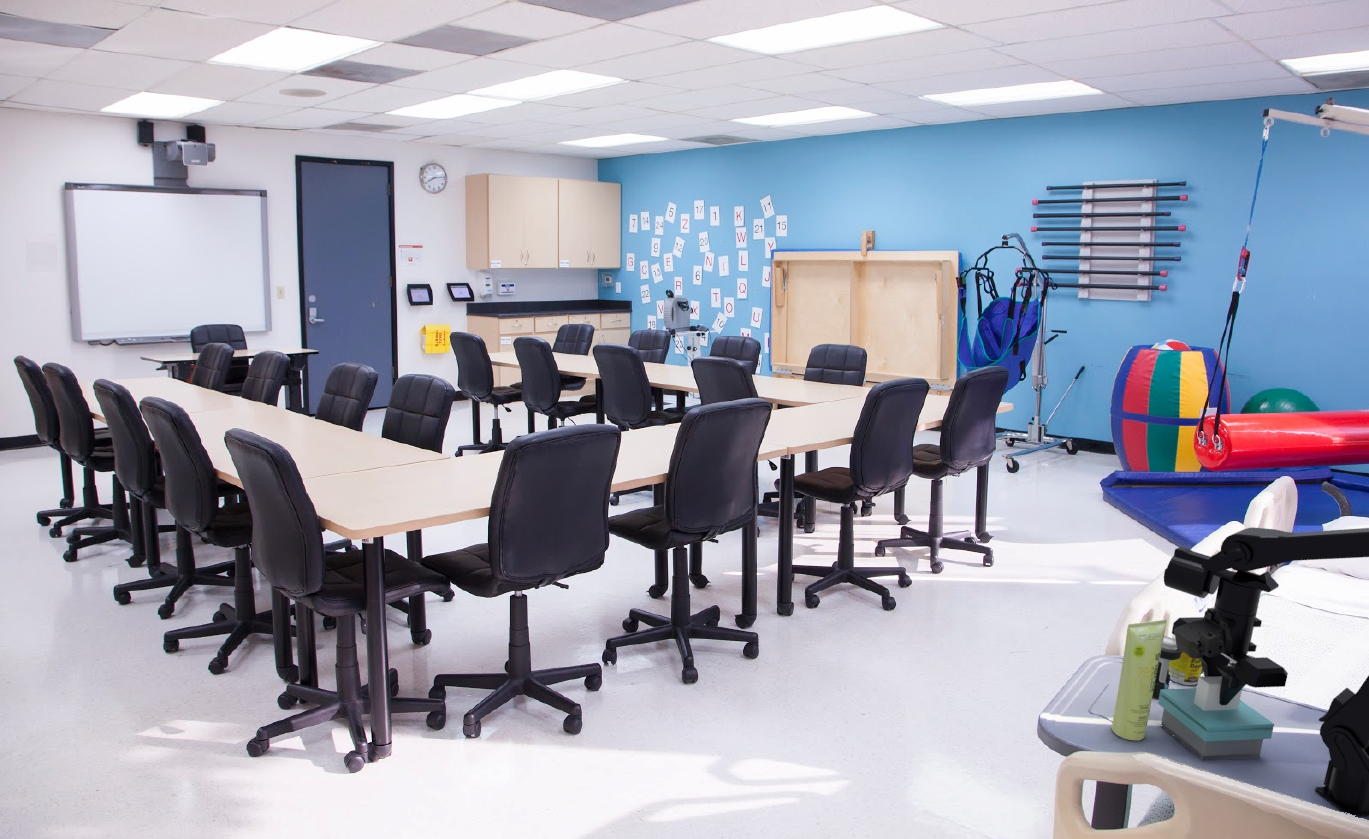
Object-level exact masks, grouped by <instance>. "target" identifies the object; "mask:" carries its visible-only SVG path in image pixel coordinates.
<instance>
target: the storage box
mask: <svg viewBox="0 0 1369 839" xmlns="http://www.w3.org/2000/svg"><path fill="white" fill-rule="evenodd" d="M1161 725H1162V727H1163V728H1162V727H1161V728H1162V729H1164V730H1165V729H1166V730H1167V731H1168V732H1169V733H1168V732H1167V731H1166V730H1165V731H1166V732H1167V733H1168V734H1170V735H1171V736H1172V735H1174V737H1175V738H1174V737H1173V738H1174V739H1175V740H1177V741H1178V742H1179V741H1180V742H1181V743H1180V742H1179V743H1180V744H1182V746H1183V747H1185V748H1186V749H1188V751H1190V752H1191V753H1192V754H1193V755H1195V756H1196V757H1197V758H1198V759H1200V760H1201V761H1205V762H1207V761H1221V760H1243V759H1245V760H1246V759H1260V756H1261V751H1262V747H1263V741H1264V739H1251V740H1229V741H1206V742H1205V741H1204V740H1203V739H1202V738H1200V737H1199V736H1198V735H1197V734H1195V733H1194V732H1193V731H1192V730H1190V729H1189V728H1188V727H1187V726H1185V725H1184V724H1183V723H1182V722H1180V721H1179V720H1178V719H1177V718H1176V717H1174V716H1173V715H1172V714H1171V713H1169V712H1168V711H1167V710H1166V709H1164V708H1163V713H1162V717H1161V721H1160V726H1161Z"/></svg>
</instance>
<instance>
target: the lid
mask: <svg viewBox="0 0 1369 839" xmlns="http://www.w3.org/2000/svg"><path fill="white" fill-rule="evenodd" d="M1221 682H1222V676H1216V677H1204V676H1200V677H1199V679H1198V683H1197V684H1196V687H1194V688H1193V687H1192V688H1168V689H1160V695H1159V699H1158V701H1157V704H1158V705H1159V706H1160V707H1162V708H1163V710H1164V709H1166V710H1167V711H1168V712H1169V713H1171V714H1172V715H1173V716H1174V717H1176V718H1177V719H1178V720H1179V721H1180V722H1182V723H1183V724H1184V725H1185V726H1187V727H1188V728H1189V729H1190V730H1192V731H1193V732H1194V733H1195V734H1197V735H1198V736H1199V737H1200V738H1202V739H1203V740H1204V741H1205V742H1206V741H1229V740H1251V739H1263V740H1268V739H1270V740H1271V739H1272V735H1273V731H1274V726H1275V723H1274V722H1273V721H1270V720H1269V718H1266V717H1265V716H1264V715H1262V714H1261V713H1260V712H1258V711H1257V710H1255V709H1254V708H1252V707H1251V706H1249V705H1248V704H1247V703H1245V702H1244V701H1243V700H1241V697H1242V691H1243V688H1242V689H1241V690H1240V691H1239V692H1238V693H1237V695H1236V696H1235V697H1234V698H1233V699H1232V700H1231V701H1230V702H1229V703H1228V704H1227V705H1220V703H1219V701H1220V689H1221Z"/></svg>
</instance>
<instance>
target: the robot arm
mask: <svg viewBox="0 0 1369 839" xmlns="http://www.w3.org/2000/svg"><path fill="white" fill-rule="evenodd" d="M1353 558H1354V559H1356V558H1369V527H1362V528H1361V527H1360V528H1345V529H1333V530H1319V531H1316V530H1315V531H1304V532H1303V531H1302V532H1291V531H1290V532H1289V531H1284V530H1278V529H1274V528H1264V527H1263V528H1262V527H1248V528H1247V527H1246V528H1243V529H1241V530H1239V531H1237V532H1234V533H1232V534H1229V535H1228V536H1226V538H1224V540H1223V541H1222V542H1221V546H1220V550H1219V551H1218V552H1217V553H1215V554H1213V555H1207V554H1203V553H1200V552H1197V551H1194V550H1191V549H1190V548H1187V547H1184V546H1180V547H1177V548H1175V549H1174V554H1173V556H1172V557H1171V558H1170V560H1169V561H1168V564H1167V566H1166V568H1165V569H1164V573H1163V583H1164V585H1165V587H1168V588H1170V589H1173V590H1176V591H1180V592H1182V593H1186V594H1188V595H1191V596H1194V597H1198V598H1200V599H1205V598H1206V597H1207V596H1208V595H1214V594H1215V593H1216V596H1215V601H1214V606H1213V607H1209V608H1208V607H1206V608H1207V609H1206V610H1205V611H1204V615H1203V616H1202V617H1201V616H1199V617H1198V616H1196V617H1195V616H1194V617H1191V616H1190V617H1178V618H1177V619H1176V620H1175V621H1174V622H1173V624H1172V630H1171V634H1172V635H1173V634H1174V635H1175V640H1176V646H1177V648H1178V649H1179V650H1182V651H1183V652H1185V653H1186V654H1187V655H1188V656H1189V657H1190V658H1193V659H1200V661H1201V664H1202V673H1203V677H1216V676H1222V682H1221V689H1220V701H1219V703H1220V705H1227V704H1228V703H1229V702H1230V701H1231V700H1232V699H1233V698H1234V697H1235V696H1236V695H1237V693H1238V692H1239V691H1240V690H1241V689H1242V690H1243V688H1245V686H1246V685H1247V686H1249V687H1252V688H1255V689H1256V688H1281V687H1284V688H1285V687H1286V683H1287V679H1288V676H1289V675H1288V671H1287V670H1286V669H1285V667H1283V666H1281V665H1280V664H1279V663H1277V662H1275V661H1274V660H1272V659H1270V658H1269V657H1265V656H1263V657H1255V656H1253V655H1249V654H1248V652H1249V653H1251V652H1256V650H1257V647H1258V646H1257V644H1255V643H1253V642H1252V637H1253V633H1254V628H1261V626H1262V624H1263V623H1262V622H1263V621H1262V620H1261V619H1260V618H1258V617H1257V613H1258V608H1259V604H1260V598H1261V592H1262V591H1263V592H1266V593H1270V592H1273V591H1274V590H1276V589H1277V588H1279V586H1280V585H1279V583H1278V582H1277V581H1276V580H1275V578H1273V577H1272V575H1271V573H1270V571H1265V572H1263V573H1261V574H1258V573H1256V572H1251V571H1255V570H1260V569H1264V568H1269V567H1272V566H1275V565H1279V564H1283V563H1284V564H1285V563H1288V562H1294V561H1296V562H1297V561H1310V560H1311V561H1315V560H1318V561H1319V560H1336V559H1338V560H1339V559H1353ZM1229 569H1232V570H1229ZM1233 570H1234V571H1233ZM1318 721H1319V722H1321V723H1322V724H1321V727H1320V729H1319V735H1320V737H1321V740H1322V742H1323V743H1324V746H1326V747H1327V748H1328V753H1329V758H1330V759H1329V760H1328V763H1327V768H1326V772H1325V777H1324V780H1323V786H1316V787H1315V788H1314V791H1315V792H1316V793H1317V794H1319V795H1320V796H1321V797H1322V798H1324V799H1325V800H1326V801H1328V802H1329V803H1331V804H1332V805H1333V806H1334V807H1336V808H1337V809H1338V810H1340V811H1341V812H1343V813H1344V812H1347V813H1350V814H1352V815H1356V816H1355V817H1366V816H1367V817H1368V816H1369V675H1367V677H1366V678H1365V680H1364V681H1363V683H1362V684H1361V686H1360V687H1359V689H1358V690H1357V692H1356V693H1354V692H1353V691H1352V690H1351V689H1350V688H1348V687H1346V688H1344V690H1342V691H1340V692H1339V694H1337V695H1336V696H1335V697H1334V698H1332V700H1331V703H1330V705H1329V708H1328V710H1327V711H1326V713H1324V714H1323V715H1322V716H1321V717H1319V718H1318Z"/></svg>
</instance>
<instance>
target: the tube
mask: <svg viewBox="0 0 1369 839" xmlns="http://www.w3.org/2000/svg"><path fill="white" fill-rule="evenodd" d="M1166 628H1167V618H1165V619H1160V620H1152V621H1151V620H1150V621H1142V622H1135V623H1128V624H1127V629H1126V635H1125V644H1124V651H1123V658H1122V664H1121V669H1120V670H1121V671H1120V675H1119V684H1118V689H1117V694H1116V700H1115V706H1114V714H1113V717H1112V718H1113V719H1112V724H1111V730H1112V732H1113V733H1114V734H1115V735H1117V736H1118V737H1120V738H1122V739H1124V740H1127V741H1141V740H1144V738H1145V737H1146V732H1147V728H1148V727H1147V726H1148V722H1149V717H1150V711H1151V706H1152V700H1153V698H1152V696H1153V690H1154V685H1155V680H1156V675H1157V669H1158V664H1159V659H1160V653H1161V648H1162V643H1163V638H1164V636H1165V633H1166Z"/></svg>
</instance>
